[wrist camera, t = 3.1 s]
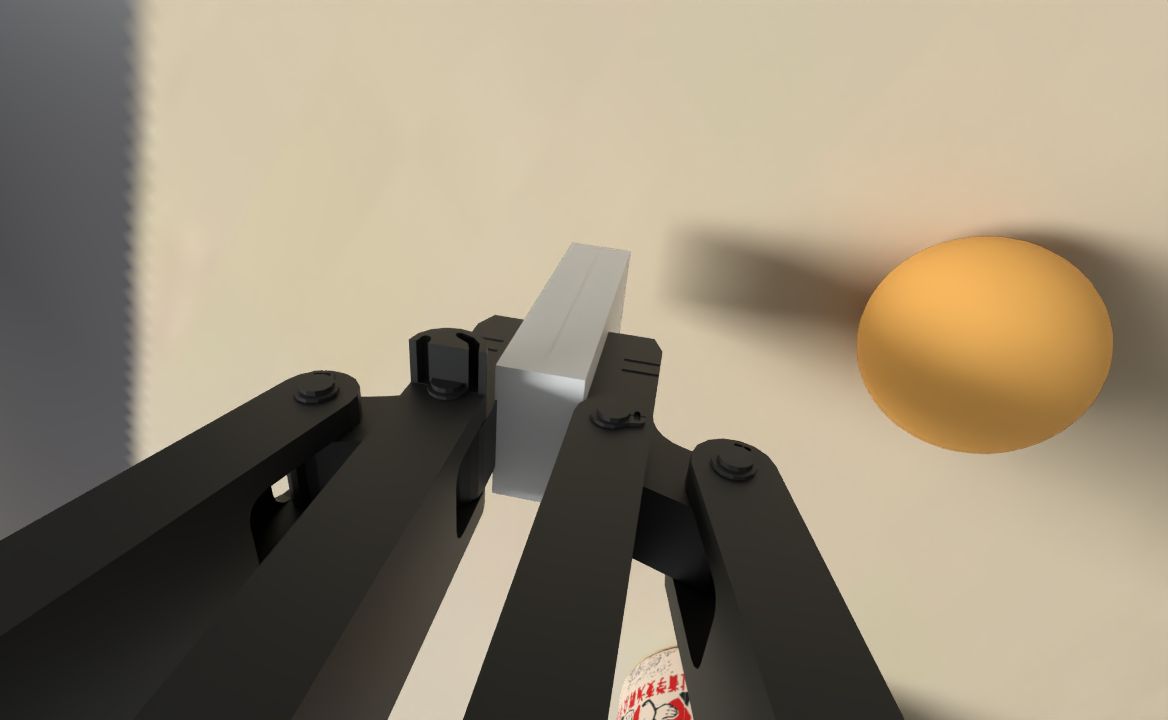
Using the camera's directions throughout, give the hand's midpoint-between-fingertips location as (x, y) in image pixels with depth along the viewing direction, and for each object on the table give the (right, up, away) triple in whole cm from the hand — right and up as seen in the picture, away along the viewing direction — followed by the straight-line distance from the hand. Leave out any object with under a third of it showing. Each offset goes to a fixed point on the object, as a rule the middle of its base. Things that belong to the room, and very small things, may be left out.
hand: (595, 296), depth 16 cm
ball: (+10, -1, 0) cm, 10 cm away
